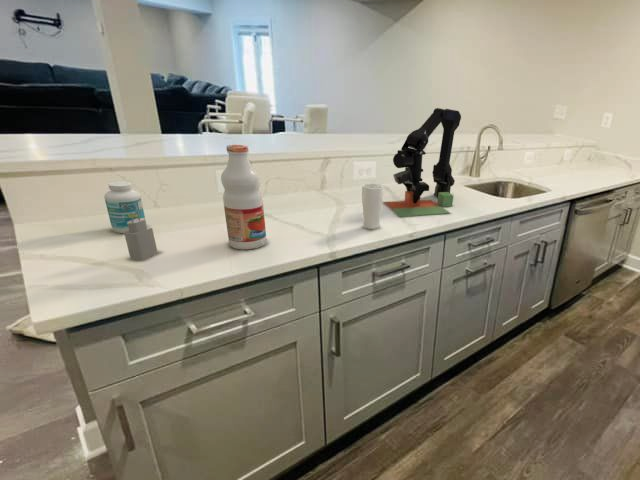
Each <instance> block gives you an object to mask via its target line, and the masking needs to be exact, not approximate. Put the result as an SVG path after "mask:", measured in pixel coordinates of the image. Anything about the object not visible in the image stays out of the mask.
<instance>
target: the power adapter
mask: <svg viewBox="0 0 640 480" xmlns="http://www.w3.org/2000/svg"><path fill="white" fill-rule="evenodd" d="M137 214H138V218H137V219H134V220H133V217H132V213H130V215H131V221H128V222H127V224H128V228H129V230H128V231H126V232H124V233H123V235H124V237H125V238H124V239H125V243H126V247H127V250H128V254H129V258H130V260H131V261H136V262H141V261H145V260H147V259H150V258H151V257H153V256H155V255H157V254H158V252H159V251H158V247H157V243H156V239H155V234H154V229H153V227H152V226H148V225H147V221H145V220H146V217H145V218H140V216H139V212H138V210H137Z"/></svg>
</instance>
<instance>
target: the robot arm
mask: <svg viewBox="0 0 640 480" xmlns="http://www.w3.org/2000/svg"><path fill="white" fill-rule="evenodd" d="M461 120H462V114H461V112H460V111H459V110H456V109H451V108H440V107H436V108H434V109H433V112H432V113H431V114H430V116H428V118H427V119H426V120H425V122H424V123H422V125H421V126H420V127H419V128H418V129H415V130H413V131H411V132H410V133H409V134H408V135H407V136H406V139H405V140H404V143H403V144H402V147H401V149H398V150H397V152H396V153H395V154H394V156H393V158H392V163H393V165H394V166H395V168H397V169H403V168H404V170H402V171H399V172H396V173H394V174H393V178H394V182H395V183H396V184H397V185H403V186H404V187H405V189H406V191H413V202H414V204H416V203H417V201H418V200H419V198H420V199H421V197H420V196H422V195H423V194H424V192H429V191H430V185H429V184H428V183H427V182H425V181H424V180H423V178H422V173H424V169H423V156H425V155H426V154H427V153H426V151H425V148H426V146H427V145H428V143H429V139H430V136H431V135H432V134H433V133H434V131H435V130H436V129H437V127H439V125H441V126H442V129H443V130H442V137H441V144H440V150H439V157H438V162H437V163H436V164H433V169H432V172H431V174H432V177H433V178H432V179H433V183H436V185H435V187H434V193H433V195H434V196H436V197H437V198H438V193H439V192H449V193H451V187H453V186H454V185H455V179H454V177H453V175H452V173H453V170H452V166H451V163H450V161H451V157H452V156H451V155H452V150H453V143H454V136H455V131H456V130H457V129H458V128H459V126H460V123H461Z"/></svg>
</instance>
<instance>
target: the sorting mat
mask: <svg viewBox="0 0 640 480" xmlns="http://www.w3.org/2000/svg"><path fill="white" fill-rule="evenodd" d="M384 204H385V205H386V206H387V207H388V208H389V209H391V210H392V211H393V212H394V213H395V214H396V215H397V216H398V217H399V218H406V217H421V216H434V215H449V214H451V213H450V212H449V211H448V210H447V209H445V208H444V207H443V206H441V205H440V204H438V203H437V202H435V201H433V200H432V199H423V200H422V199H420V205H415V206H409V205H408V204H406V203H405V200H400V201H399V200H398V201H384Z"/></svg>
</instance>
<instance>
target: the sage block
mask: <svg viewBox="0 0 640 480" xmlns="http://www.w3.org/2000/svg"><path fill="white" fill-rule="evenodd" d="M453 203H454V194H453V193H451V192H450V193H449V192H439V193H438V197H437V204H438V205H439V206H441V207H453Z"/></svg>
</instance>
